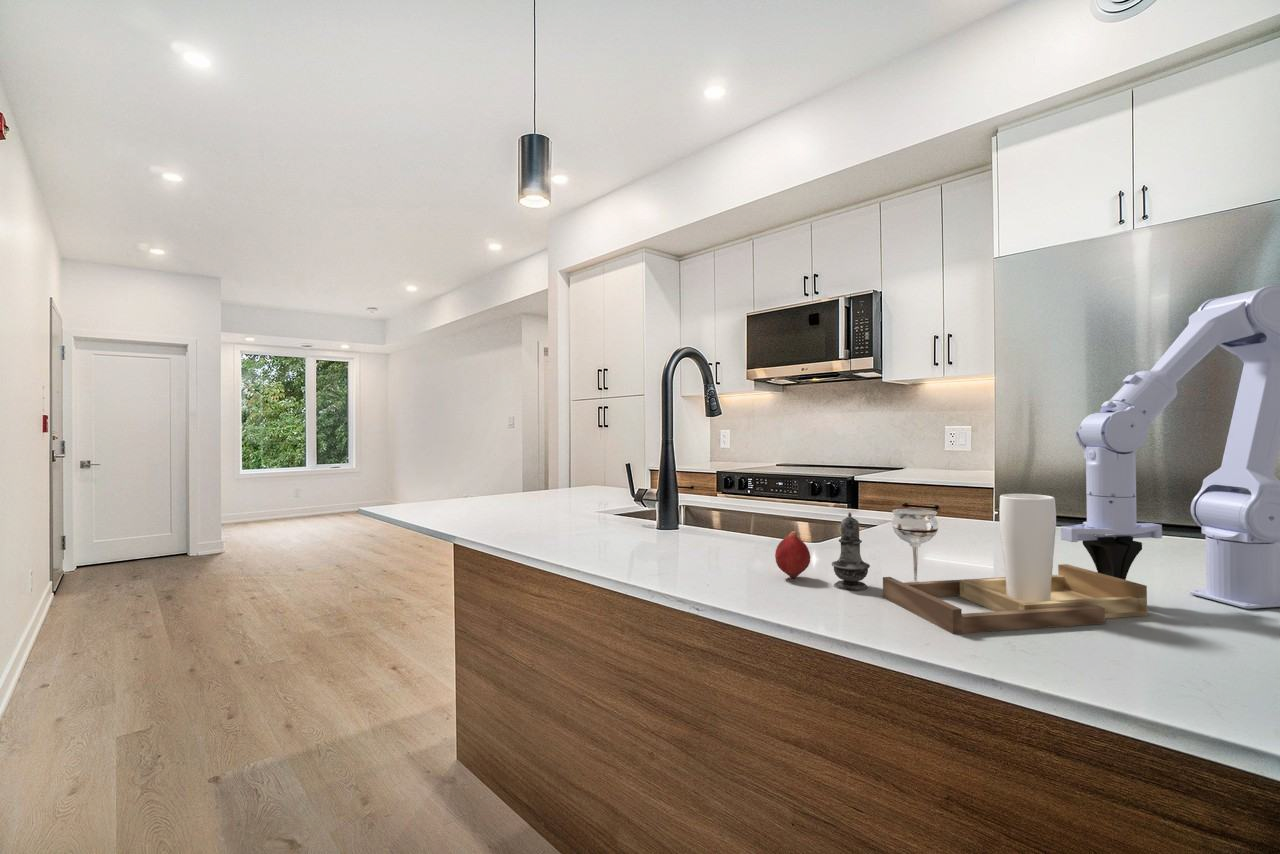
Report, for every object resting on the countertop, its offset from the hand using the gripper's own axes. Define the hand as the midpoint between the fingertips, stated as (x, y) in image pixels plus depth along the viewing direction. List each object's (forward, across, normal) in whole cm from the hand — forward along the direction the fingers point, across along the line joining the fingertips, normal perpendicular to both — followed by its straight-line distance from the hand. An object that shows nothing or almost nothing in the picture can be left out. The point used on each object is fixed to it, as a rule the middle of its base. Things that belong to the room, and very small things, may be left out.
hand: (1112, 589), depth 89 cm
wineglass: (+2, +22, -13) cm, 26 cm away
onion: (+2, +39, -22) cm, 45 cm away
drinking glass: (+1, +13, 0) cm, 13 cm away
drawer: (+2, +10, 0) cm, 10 cm away
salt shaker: (+2, +32, -15) cm, 36 cm away
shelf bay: (+2, +19, 0) cm, 19 cm away
